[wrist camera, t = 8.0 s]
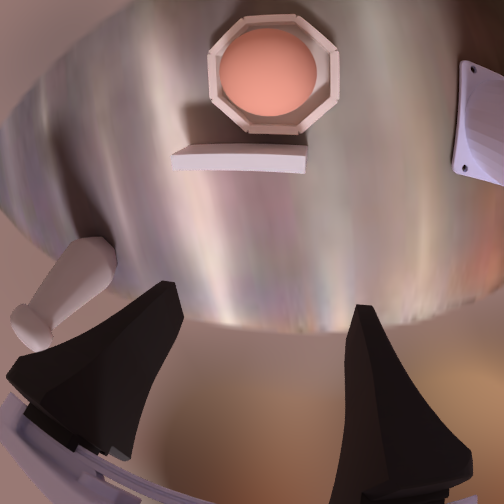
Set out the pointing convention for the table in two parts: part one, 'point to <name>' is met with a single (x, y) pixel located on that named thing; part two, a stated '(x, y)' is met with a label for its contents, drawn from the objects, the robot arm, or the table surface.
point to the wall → (242, 157)
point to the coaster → (317, 101)
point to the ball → (268, 72)
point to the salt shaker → (65, 290)
